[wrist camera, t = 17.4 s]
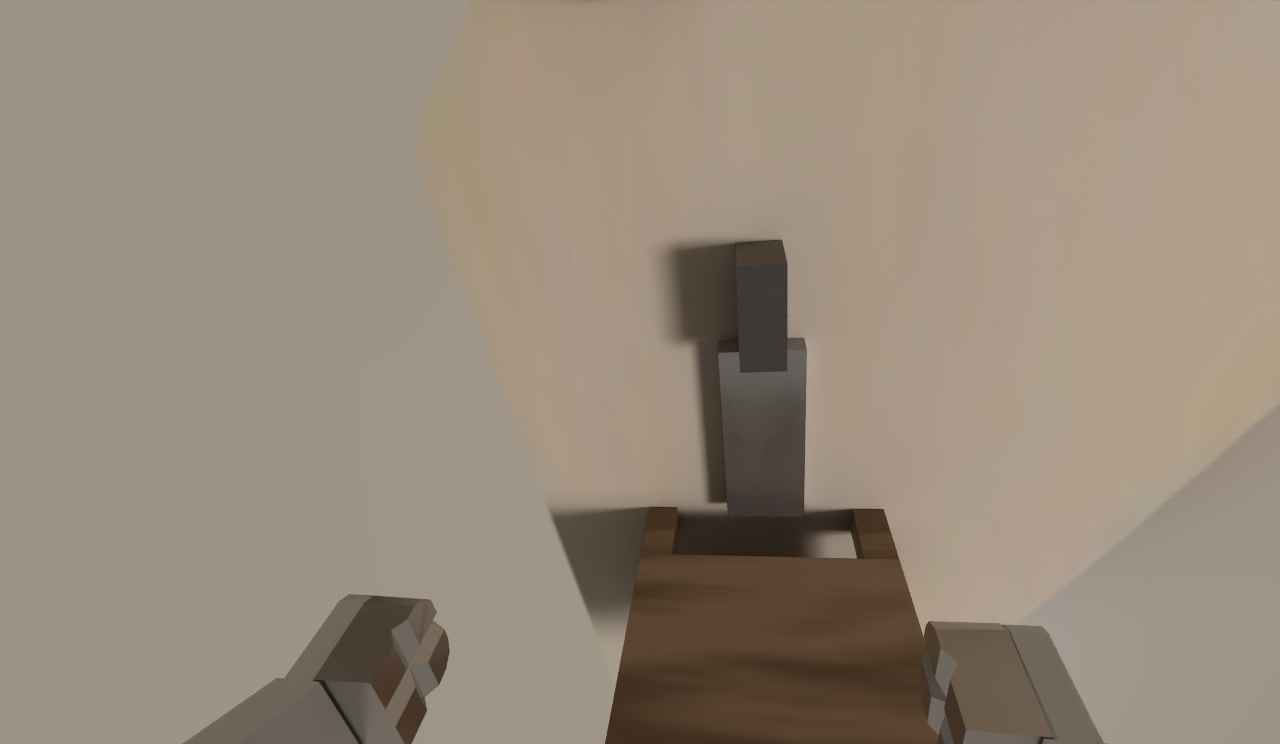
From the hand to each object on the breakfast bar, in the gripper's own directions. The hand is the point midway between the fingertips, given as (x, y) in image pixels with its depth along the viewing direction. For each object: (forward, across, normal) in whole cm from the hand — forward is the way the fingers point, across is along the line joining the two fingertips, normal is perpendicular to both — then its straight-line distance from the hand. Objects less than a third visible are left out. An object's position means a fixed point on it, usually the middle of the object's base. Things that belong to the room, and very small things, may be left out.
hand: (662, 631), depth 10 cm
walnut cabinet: (+26, -1, +26) cm, 37 cm away
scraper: (+26, -2, +11) cm, 28 cm away
